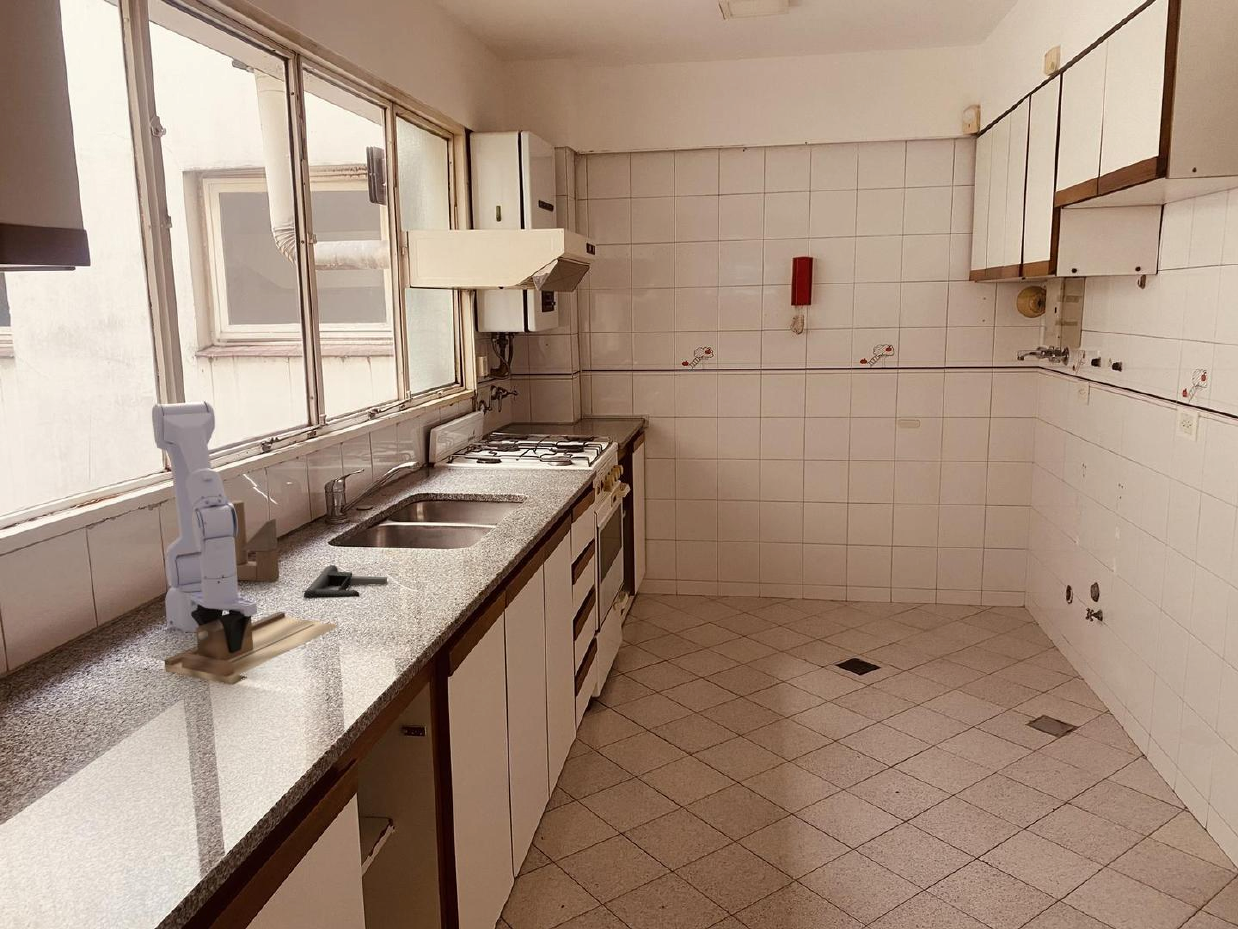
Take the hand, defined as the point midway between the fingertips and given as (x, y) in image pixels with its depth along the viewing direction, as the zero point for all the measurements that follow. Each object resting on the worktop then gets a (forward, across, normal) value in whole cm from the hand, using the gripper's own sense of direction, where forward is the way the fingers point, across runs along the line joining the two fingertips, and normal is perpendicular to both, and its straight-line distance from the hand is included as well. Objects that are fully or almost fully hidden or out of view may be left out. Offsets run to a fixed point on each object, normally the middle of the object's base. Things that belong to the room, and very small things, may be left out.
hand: (224, 649), depth 160 cm
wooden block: (+3, +33, -39) cm, 52 cm away
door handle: (+3, +9, -42) cm, 43 cm away
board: (+2, -1, -6) cm, 7 cm away
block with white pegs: (+1, 0, 0) cm, 1 cm away
